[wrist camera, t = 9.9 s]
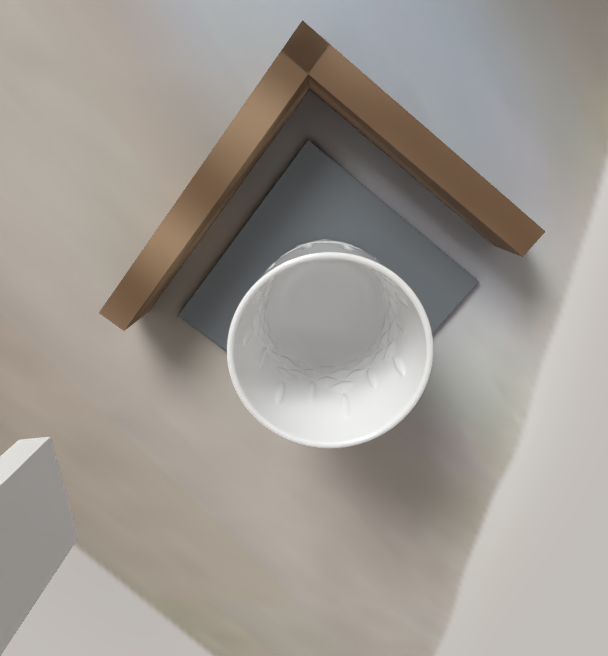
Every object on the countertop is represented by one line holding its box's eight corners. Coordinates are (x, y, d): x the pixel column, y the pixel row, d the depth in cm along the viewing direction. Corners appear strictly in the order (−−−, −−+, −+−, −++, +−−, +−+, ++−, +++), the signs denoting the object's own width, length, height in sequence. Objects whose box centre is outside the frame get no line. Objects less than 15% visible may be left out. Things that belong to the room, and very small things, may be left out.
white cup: (357, 385, 31) (375, 478, 22) (233, 331, 31) (196, 402, 21) (420, 264, 29) (471, 306, 20) (289, 203, 29) (276, 216, 19)
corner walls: (304, 43, 27) (302, 20, 23) (514, 224, 29) (545, 231, 25) (126, 295, 30) (99, 312, 27) (324, 439, 33) (325, 474, 29)
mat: (308, 140, 28) (308, 140, 28) (477, 280, 30) (478, 281, 30) (179, 314, 31) (177, 315, 30) (341, 432, 33) (341, 435, 32)
